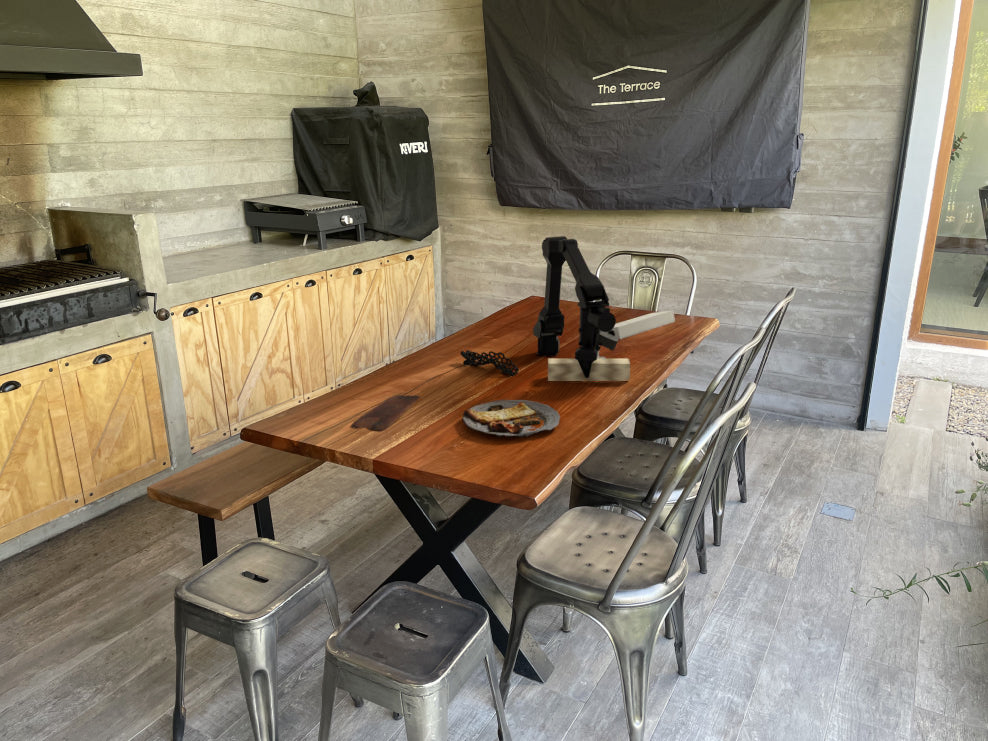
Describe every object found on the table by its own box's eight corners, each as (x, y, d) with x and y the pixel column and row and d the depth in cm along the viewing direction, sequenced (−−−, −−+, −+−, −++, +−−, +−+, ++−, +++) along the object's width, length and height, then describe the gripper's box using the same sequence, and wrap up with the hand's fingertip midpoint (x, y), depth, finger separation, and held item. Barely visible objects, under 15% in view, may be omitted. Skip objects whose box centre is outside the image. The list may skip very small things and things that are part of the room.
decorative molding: (598, 342, 273) (620, 340, 265) (596, 329, 272) (618, 327, 265) (654, 325, 295) (675, 322, 287) (651, 313, 294) (673, 310, 287)
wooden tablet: (393, 390, 216) (424, 390, 212) (394, 397, 216) (426, 397, 213) (347, 424, 192) (382, 424, 188) (349, 433, 192) (384, 433, 189)
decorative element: (521, 374, 231) (521, 356, 230) (510, 378, 228) (510, 359, 226) (467, 361, 245) (466, 344, 243) (456, 365, 242) (456, 347, 240)
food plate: (483, 447, 179) (483, 434, 177) (449, 416, 199) (449, 403, 198) (575, 432, 188) (575, 419, 187) (533, 403, 209) (533, 391, 207)
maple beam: (548, 382, 224) (548, 363, 222) (548, 377, 228) (548, 358, 226) (629, 382, 222) (630, 363, 220) (627, 377, 227) (628, 358, 225)
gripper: (615, 333, 209) (613, 386, 214) (619, 317, 227) (617, 366, 232) (575, 331, 212) (574, 383, 217) (582, 315, 229) (581, 364, 234)
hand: (588, 374), depth 225 cm, fingers open, 6 cm apart
